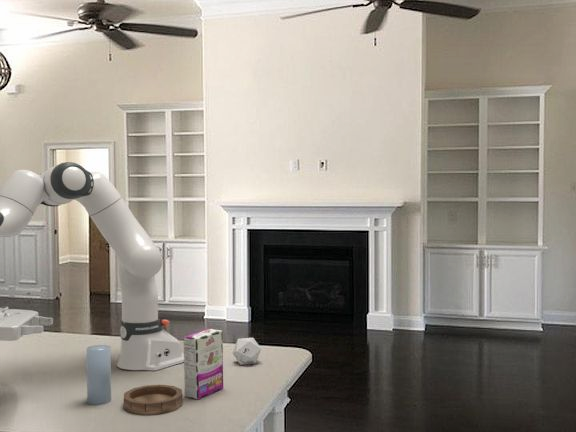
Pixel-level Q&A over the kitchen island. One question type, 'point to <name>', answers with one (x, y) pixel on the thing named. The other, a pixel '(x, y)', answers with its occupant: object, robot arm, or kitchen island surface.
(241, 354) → the die
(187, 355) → the candy bar box
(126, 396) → the tray
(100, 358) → the pale blue cylinder
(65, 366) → the kitchen island surface
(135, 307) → the robot arm
